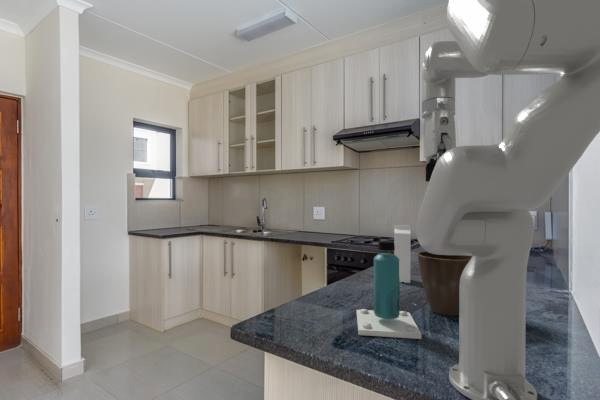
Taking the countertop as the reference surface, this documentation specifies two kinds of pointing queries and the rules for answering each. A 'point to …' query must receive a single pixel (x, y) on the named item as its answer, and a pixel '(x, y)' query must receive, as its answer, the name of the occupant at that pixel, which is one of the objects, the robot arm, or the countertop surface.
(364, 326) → the base plate
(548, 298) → the countertop surface
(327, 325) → the countertop surface
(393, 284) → the beverage bottle
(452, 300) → the plant pot
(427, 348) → the countertop surface
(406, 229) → the milk
